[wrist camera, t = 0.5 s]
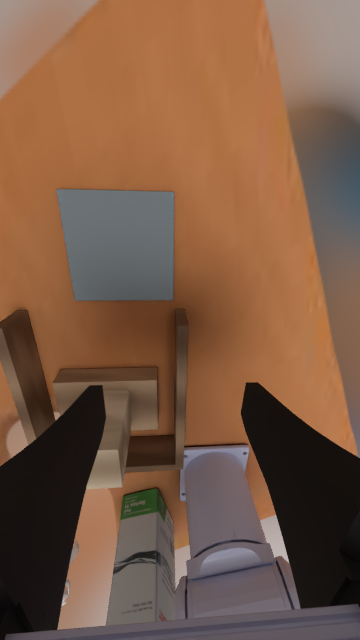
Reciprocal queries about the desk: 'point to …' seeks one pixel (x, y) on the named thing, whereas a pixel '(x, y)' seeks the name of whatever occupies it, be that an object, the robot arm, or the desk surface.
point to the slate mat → (119, 243)
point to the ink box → (143, 562)
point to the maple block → (113, 442)
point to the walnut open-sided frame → (35, 406)
